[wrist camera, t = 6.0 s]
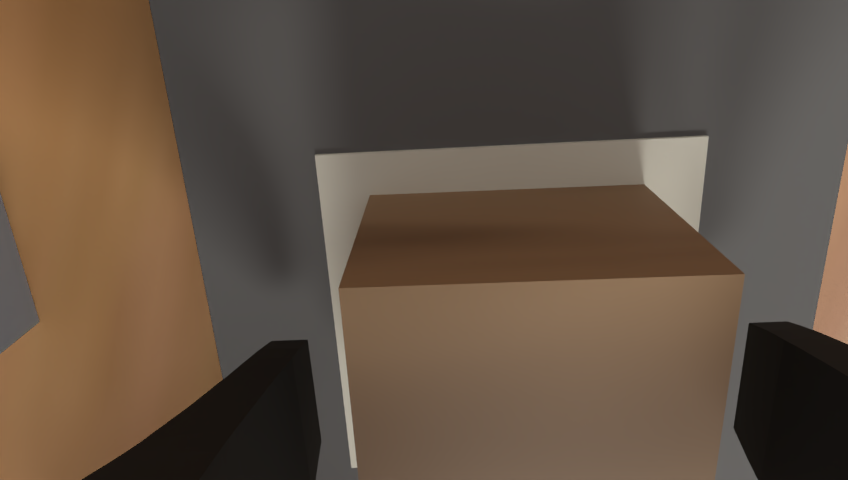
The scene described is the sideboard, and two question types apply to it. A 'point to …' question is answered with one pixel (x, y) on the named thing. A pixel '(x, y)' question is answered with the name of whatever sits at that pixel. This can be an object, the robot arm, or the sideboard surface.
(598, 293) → the walnut block
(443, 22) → the mat
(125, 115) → the sideboard surface
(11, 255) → the blue block
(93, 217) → the sideboard surface
